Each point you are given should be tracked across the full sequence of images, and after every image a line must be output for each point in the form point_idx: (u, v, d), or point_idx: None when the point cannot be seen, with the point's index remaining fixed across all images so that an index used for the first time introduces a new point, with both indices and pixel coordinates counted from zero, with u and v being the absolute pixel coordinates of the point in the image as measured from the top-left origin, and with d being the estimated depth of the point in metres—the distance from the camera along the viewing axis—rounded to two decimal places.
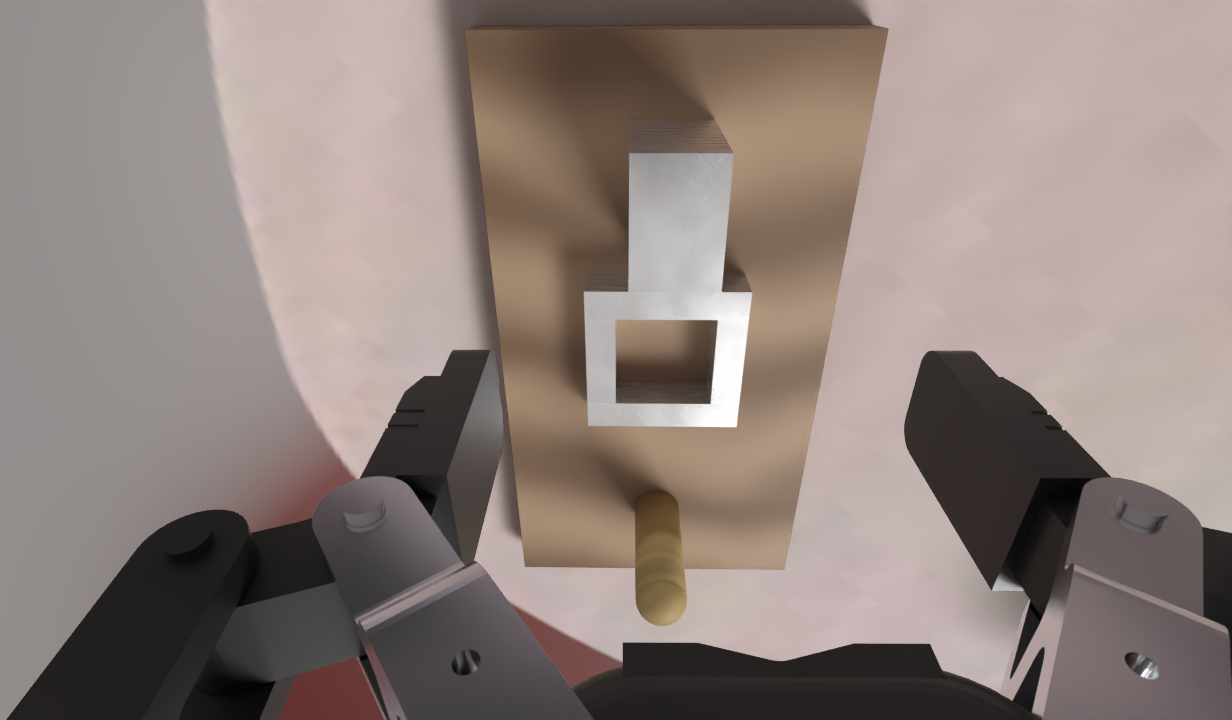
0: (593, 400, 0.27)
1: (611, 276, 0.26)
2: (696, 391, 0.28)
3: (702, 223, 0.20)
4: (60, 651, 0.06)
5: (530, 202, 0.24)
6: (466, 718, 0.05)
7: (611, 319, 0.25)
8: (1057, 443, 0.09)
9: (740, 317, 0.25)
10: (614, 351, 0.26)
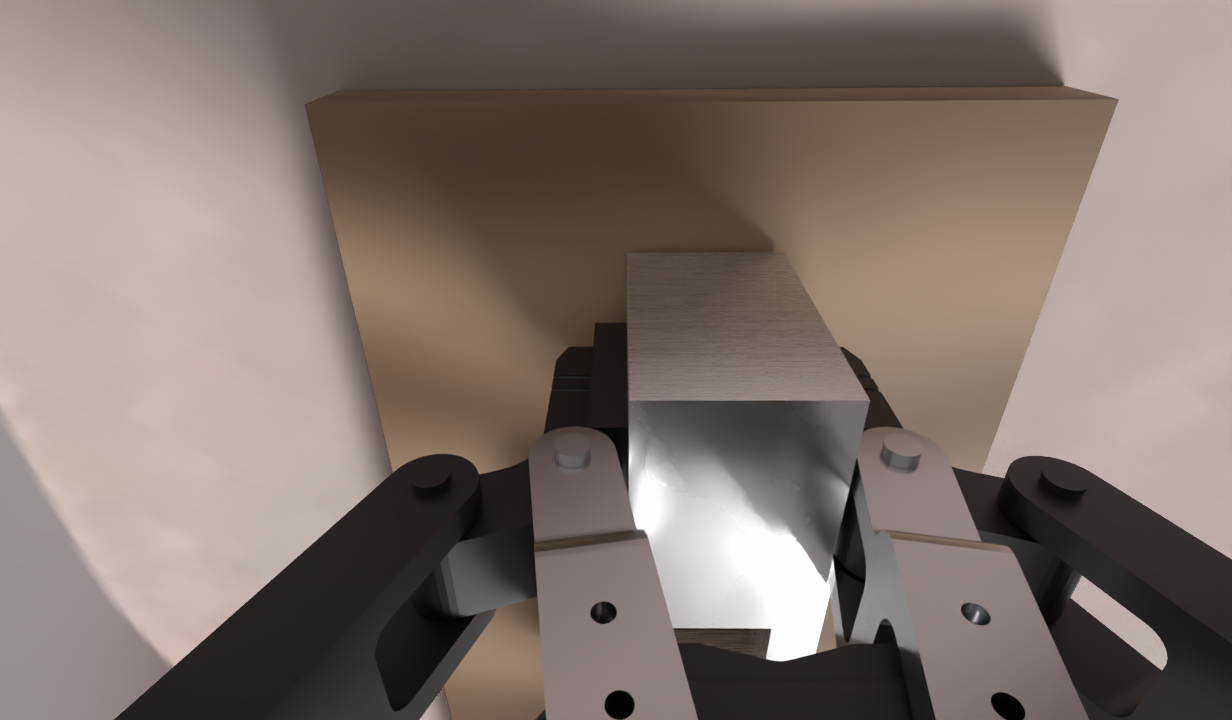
0: None
1: None
2: (736, 651, 0.18)
3: (788, 522, 0.09)
4: (320, 539, 0.08)
5: (452, 386, 0.14)
6: (586, 659, 0.06)
7: None
8: None
9: None
10: None
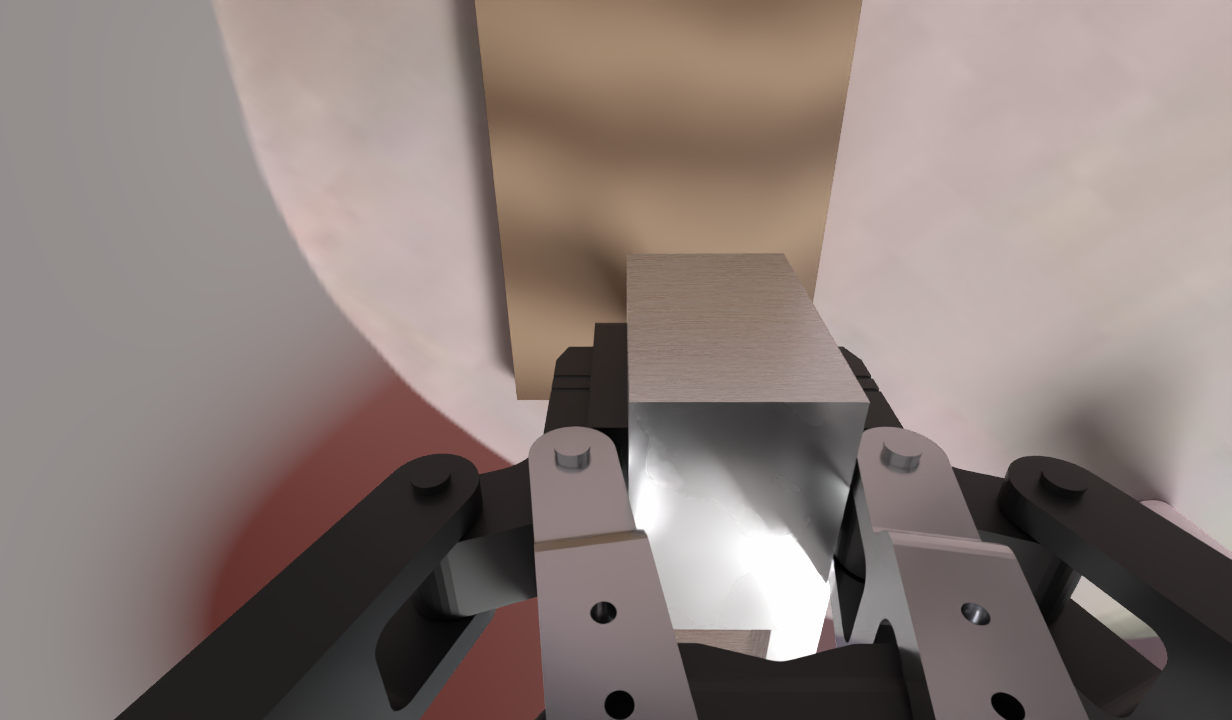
0: None
1: None
2: (736, 651, 0.18)
3: (787, 524, 0.09)
4: (320, 539, 0.08)
5: None
6: (586, 659, 0.06)
7: None
8: None
9: None
10: None
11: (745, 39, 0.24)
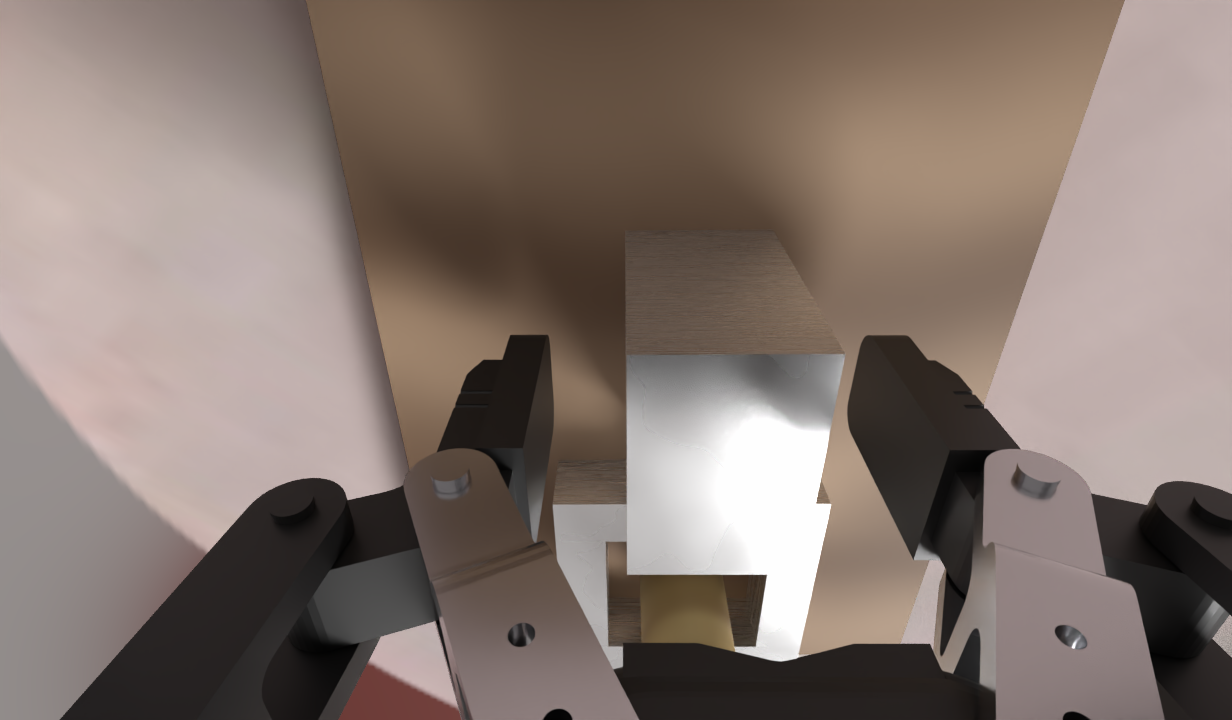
0: None
1: (598, 464, 0.16)
2: (731, 616, 0.18)
3: (773, 471, 0.10)
4: (174, 592, 0.07)
5: None
6: (514, 687, 0.05)
7: (598, 541, 0.16)
8: (971, 419, 0.10)
9: (809, 537, 0.15)
10: (605, 582, 0.16)
11: (864, 106, 0.12)
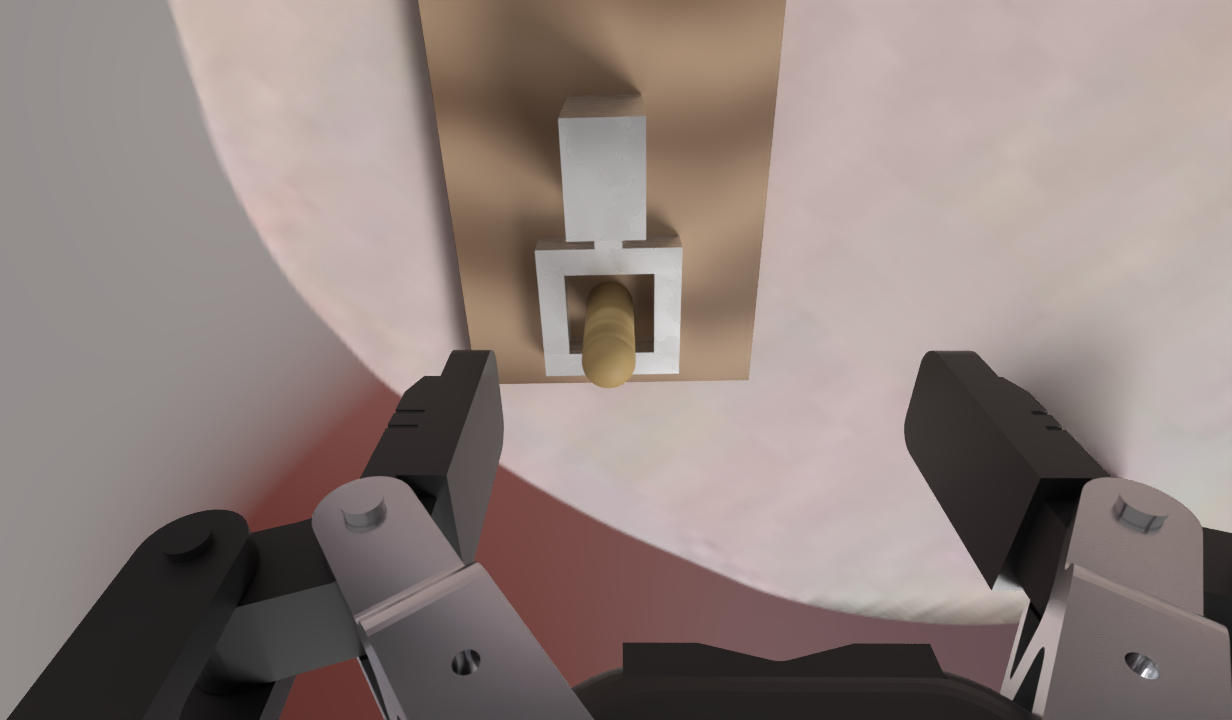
0: (549, 351, 0.31)
1: (560, 238, 0.29)
2: (642, 343, 0.31)
3: (625, 178, 0.23)
4: (61, 651, 0.06)
5: None
6: (466, 718, 0.05)
7: (560, 275, 0.29)
8: (1057, 443, 0.09)
9: (674, 270, 0.28)
10: (565, 305, 0.29)
11: (677, 28, 0.25)
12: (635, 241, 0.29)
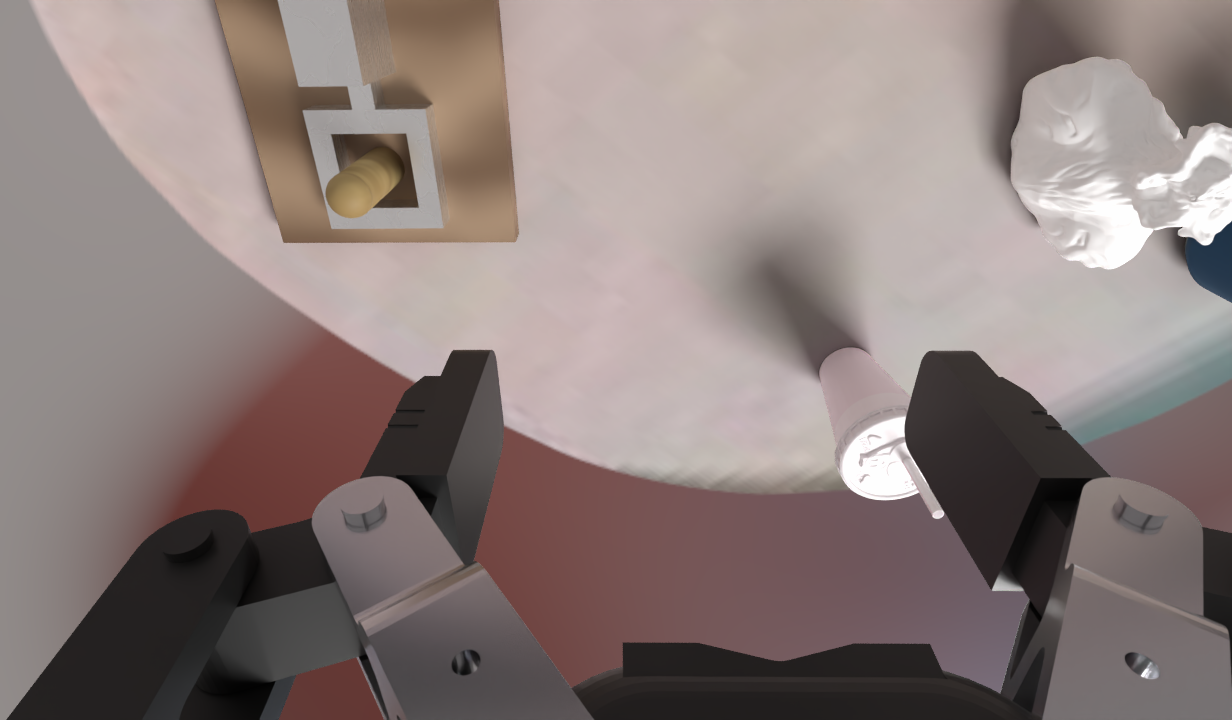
0: None
1: (332, 105, 0.35)
2: (414, 202, 0.37)
3: (335, 30, 0.29)
4: (60, 651, 0.06)
5: None
6: (466, 718, 0.05)
7: (328, 134, 0.34)
8: (1057, 443, 0.09)
9: (422, 131, 0.34)
10: (336, 162, 0.35)
11: None
12: (391, 106, 0.34)
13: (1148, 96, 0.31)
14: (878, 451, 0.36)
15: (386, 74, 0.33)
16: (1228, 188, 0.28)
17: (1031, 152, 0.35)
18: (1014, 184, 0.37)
